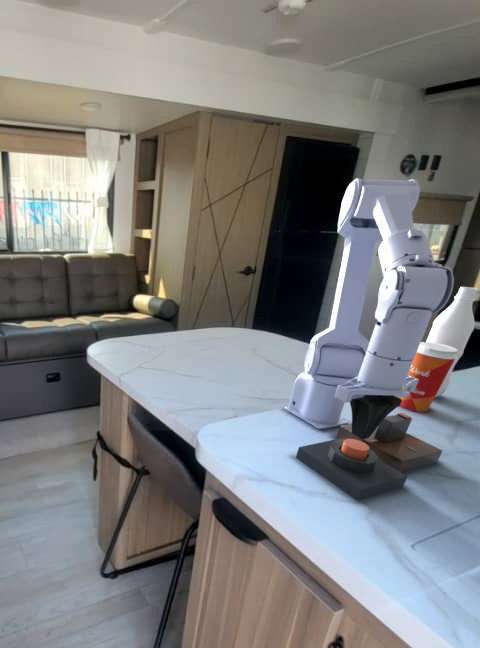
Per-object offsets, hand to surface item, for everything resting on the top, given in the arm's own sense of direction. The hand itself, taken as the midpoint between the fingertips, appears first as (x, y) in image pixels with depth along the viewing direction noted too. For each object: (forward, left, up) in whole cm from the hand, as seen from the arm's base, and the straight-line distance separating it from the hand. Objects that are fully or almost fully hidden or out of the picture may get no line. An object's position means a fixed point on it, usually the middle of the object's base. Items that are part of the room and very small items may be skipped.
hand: (359, 435), depth 64 cm
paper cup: (-14, +37, -7) cm, 40 cm away
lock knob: (-3, +13, -4) cm, 14 cm away
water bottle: (-18, +47, -7) cm, 51 cm away
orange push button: (0, 0, -3) cm, 3 cm away
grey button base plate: (0, 0, -7) cm, 7 cm away
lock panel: (-3, +13, -7) cm, 15 cm away
